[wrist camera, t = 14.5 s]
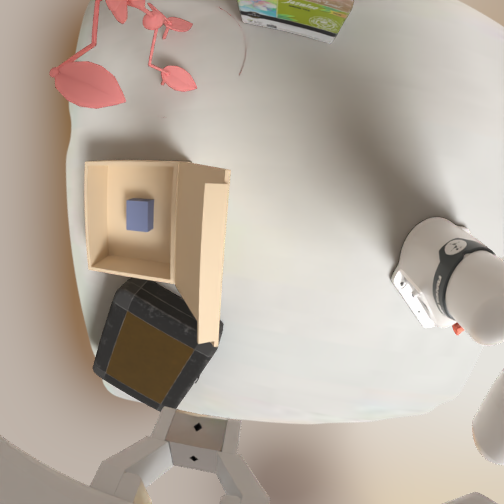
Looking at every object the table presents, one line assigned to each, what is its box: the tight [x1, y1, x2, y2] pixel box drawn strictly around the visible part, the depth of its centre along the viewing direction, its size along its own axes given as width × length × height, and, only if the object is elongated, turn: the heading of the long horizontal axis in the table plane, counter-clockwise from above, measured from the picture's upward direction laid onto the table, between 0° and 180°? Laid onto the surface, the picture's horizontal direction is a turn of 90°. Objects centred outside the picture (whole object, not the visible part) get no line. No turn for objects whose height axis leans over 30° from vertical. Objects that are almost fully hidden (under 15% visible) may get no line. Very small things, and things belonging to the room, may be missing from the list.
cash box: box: [93, 277, 223, 412], centre depth 53 cm, size 25×20×8 cm
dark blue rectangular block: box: [126, 198, 154, 232], centre depth 46 cm, size 5×4×2 cm
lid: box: [175, 162, 231, 347], centre depth 34 cm, size 18×17×3 cm
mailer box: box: [84, 160, 192, 284], centre depth 45 cm, size 18×16×7 cm
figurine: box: [50, 0, 241, 118], centre depth 22 cm, size 15×26×35 cm, turn 2°
